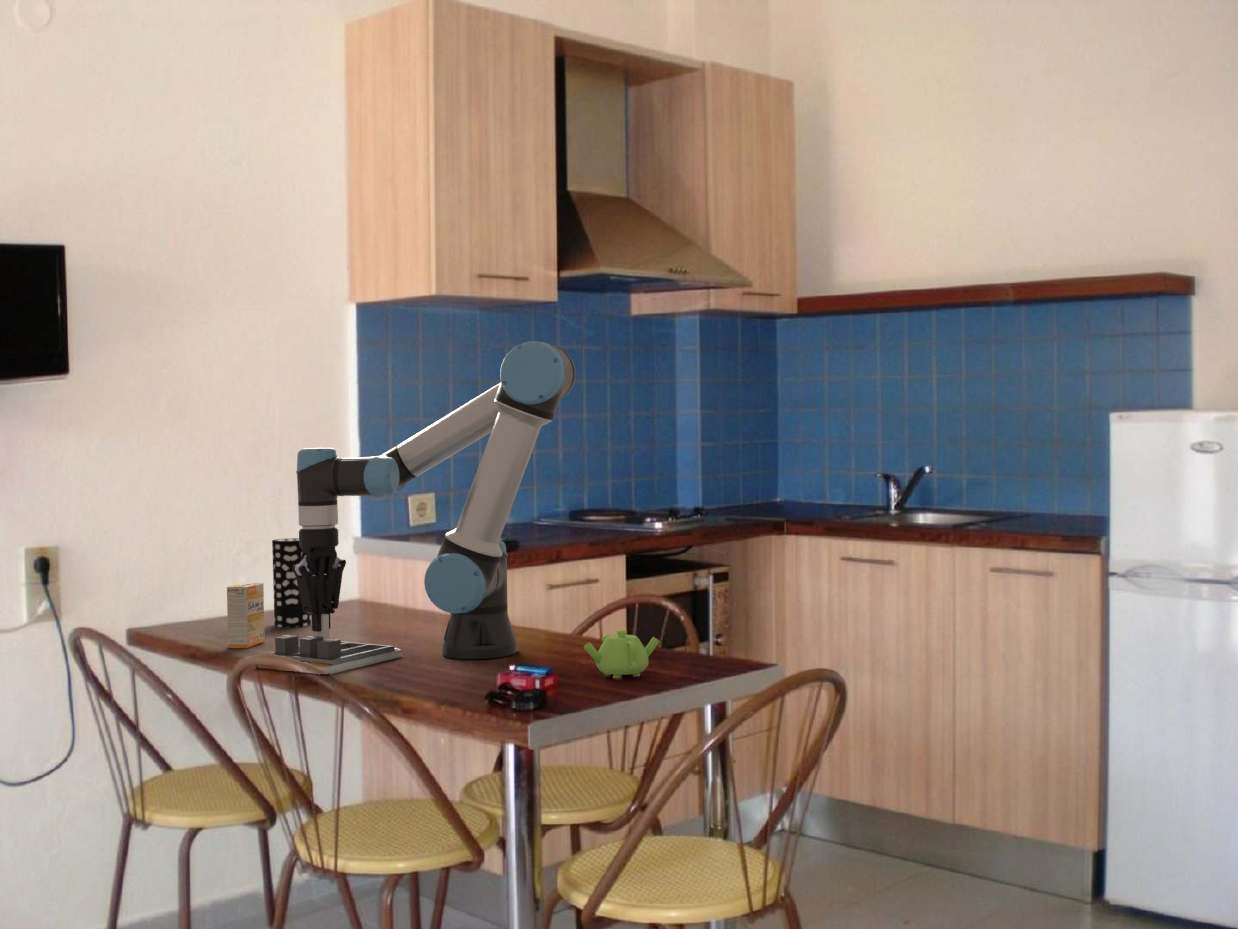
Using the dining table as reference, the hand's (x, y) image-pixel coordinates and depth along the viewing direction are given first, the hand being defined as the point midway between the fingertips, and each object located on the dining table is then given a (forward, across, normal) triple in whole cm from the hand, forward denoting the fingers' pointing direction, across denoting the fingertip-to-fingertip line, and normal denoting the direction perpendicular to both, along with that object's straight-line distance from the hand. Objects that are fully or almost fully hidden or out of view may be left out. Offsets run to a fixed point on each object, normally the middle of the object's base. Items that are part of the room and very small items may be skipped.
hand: (321, 647), depth 270 cm
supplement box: (+4, -10, -31) cm, 33 cm away
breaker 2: (+2, +4, +5) cm, 7 cm away
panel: (+3, -2, 0) cm, 4 cm away
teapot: (+4, -15, +59) cm, 61 cm away
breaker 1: (+2, +4, -6) cm, 7 cm away
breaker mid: (+2, +3, 0) cm, 3 cm away
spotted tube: (+4, -36, -43) cm, 56 cm away
